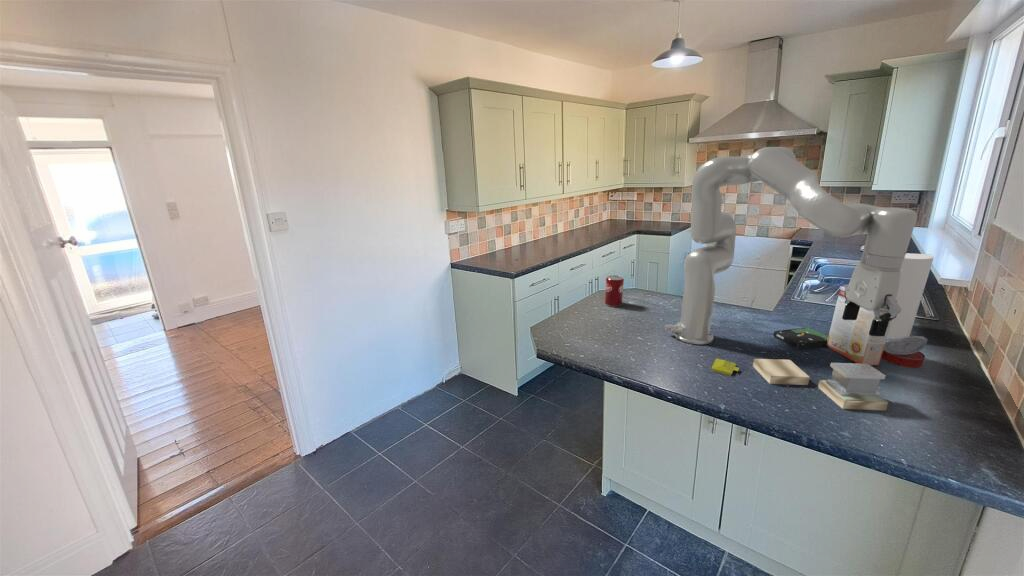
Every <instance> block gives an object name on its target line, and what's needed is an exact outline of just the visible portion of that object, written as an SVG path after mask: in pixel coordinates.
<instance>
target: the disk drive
mask: <svg viewBox="0 0 1024 576" xmlns="http://www.w3.org/2000/svg"><path fill="white" fill-rule="evenodd" d="M828 336H829V334H826V333H824V332H820V331H818V330H816V329H814V328H812V327H800V328H792V329H791V328H790V329H783V330H782V329H781V330H774V331H773V336H772V337H773V338H775V339H777V340H779V341H780V340H781V342H782V341H783V342H782V343H784V342H785V344H786V345H788V346H790V347H792V348H794V349H795V350H803V349H811V348H820V347H827V346H826V344H827V340H828Z"/></svg>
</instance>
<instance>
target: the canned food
mask: <svg viewBox="0 0 1024 576" xmlns="http://www.w3.org/2000/svg"><path fill="white" fill-rule="evenodd" d="M927 343H928V338H926V337H925V336H920V335H918V336H917V335H911V336H909V337H903V338H897V339H889V340H888V341H886V342H885V345H884V349H883V352H882V356H881V360H883V361H885V362H887V363H890V364H892V365H896V366H900V367H903V368H911V369H916V368H921V367H923V365H924V361H925V358H926V355H925V354H924V353H922V352H921V351H922V350H924V348H925V347H926V345H927Z"/></svg>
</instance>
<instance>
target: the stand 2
mask: <svg viewBox="0 0 1024 576" xmlns="http://www.w3.org/2000/svg"><path fill="white" fill-rule="evenodd" d="M826 380H827V379H826ZM826 380H825V379H820V380H818V381H819V382H818V385H817V388H818V389H819V390H821V392H823V394H825V395H826V396H827V397H828V398H829V399H831V400H832V401H833V402H834V403H835V404H836V405H838V407H840V408H841V409H842V410H859V411H860V410H861V411H862V410H863V411H864V410H865V411H887V409H888V405H889V402H888V401H887V400H885V399H884V398H882V397H881V395H880V396H879V397H870V396H843V395H840V394H838V393H837V392H836V391H835V390H834V389H833V388H831V387H830V386H829V385H828V384H827V383H826Z"/></svg>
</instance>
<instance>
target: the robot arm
mask: <svg viewBox="0 0 1024 576" xmlns="http://www.w3.org/2000/svg"><path fill="white" fill-rule="evenodd" d="M756 182H757V183H758V182H761V183H763V184H764V185H766V186H767V187H769V188H770V189H772V190H773V191H775V192H776V193H778V194H779V195H780V196H782V197H783V198H784V199H786V200H787V201H789V202H790V204H791V205H792V207H793V209H795V211H796V212H797V213H798V214H799V215H800V216H801V217H803V219H804V220H806V221H807V222H808V223H810V224H811V225H812V226H814V227H816V228H817V229H819V230H820V231H822V232H823V233H825V234H827V235H829V236H831V237H834V238H839V239H840V238H849V237H852V236H855V235H863V234H864V235H866V238H865V239H866V240H865V242H864V246H863V248H862V249H863V250H862V253H861V258H860V260H859V262H858V263H857V264H856V266H855V268H854V270H853V272H852V275H851V277H850V280H849V282H848V284H845V285H844V286H845V292H846V293H845V298H846V300H845V304H847V305H845V309H844V313H843V316H842V319H844V320H856V319H857V316H858V313H859V309H860V306H861V307H863V308H865V309H867V310H873V311H874V315H875V319H876V320H873V321H872V324H871V327H870V331H869V335H870V336H884V335H885V333H886V330H887V326H888V323H889V322H891V321H892V319H894V318H896V316H897V315H898V314H899V313H900V312H901V307H900V306H899V305H898V303H897V302H896V297H897V294H898V289H899V284H900V276H901V271H900V270H901V267H902V264H903V261H904V258H905V255H906V253H907V251H908V247H909V245H910V241H911V238H912V234H913V231H914V228H915V225H916V222H917V219H918V214H917V212H916V211H915V210H912V209H909V208H904V207H903V208H902V207H882V206H876V205H871V204H867V203H861V202H860V203H859V202H858V203H849V204H846V203H843V202H842V201H841V200H839V199H837V198H835V197H834V196H832V195H831V194H829V193H828V192H827V191H826V190H825V189H824V188H823V187H822V186H821V185H820V183H819V177H818V174H817V173H816V172H815V171H814V170H812V169H810V168H808V167H807V166H805V165H803V163H800V162H798V161H797V157H796V155H795V152H794V151H792V150H791V149H790V148H787V147H785V146H765V147H762V148H760V149H758V150H756V151H754V152H753V153H752V154H751V153H750V154H747V155H741V156H740V155H739V156H719V157H716V158H711V159H709V160H707V161H706V162H703V164H702V165H701V166H699V167H698V169H697V170H696V172H695V173H694V176H693V178H692V186H691V187H692V188H691V189H692V199H691V200H692V202H691V203H692V205H691V217H690V218H691V219H690V237H691V239H692V240H693V241H694V242H695V243H697V244H700V245H705V244H706V246H704V247H703V246H702V247H698V248H696V249H694V250H691V251H690V252H689V253H688V254H687V255H686V257H685V259H684V262H683V263H684V264H683V268H684V270H683V271H684V285H683V287H684V288H683V297H682V304H681V313H680V319H679V320H680V321H677V323H674V324H665V326H664V329H665V331H670V333H673V335H674V337H675V339H677V340H680V342H684V343H687V344H692V345H707V344H710V343H712V342H713V341H714V339H715V338H714V337H715V336H714V334H712V333H711V332H710V330H711V329H710V328H711V323H712V316H713V314H712V313H713V310H714V309H713V308H714V301H715V294H716V284H715V275H716V274H720V273H723V272H726V271H727V270H728V269H730V267H731V266H732V265H733V263H734V258H735V257H734V256H735V248H736V247H735V246H736V236H737V235H736V234H737V233H736V232H737V225H736V221H735V219H734V218H733V217H732V215H731V214H729V213H727V212H724V211H722V206H723V205H722V203H723V199H722V194H721V191H720V189H721V188H722V187H725V186H728V187H729V186H740V185H745V184H751V183H756ZM880 312H884V314H883V315H881V313H880Z"/></svg>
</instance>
